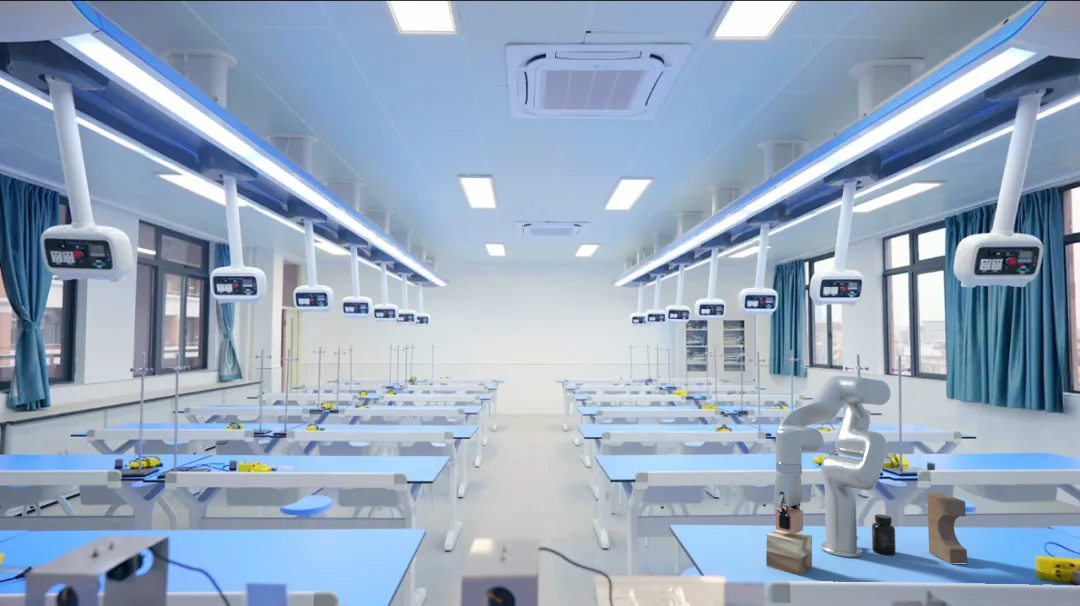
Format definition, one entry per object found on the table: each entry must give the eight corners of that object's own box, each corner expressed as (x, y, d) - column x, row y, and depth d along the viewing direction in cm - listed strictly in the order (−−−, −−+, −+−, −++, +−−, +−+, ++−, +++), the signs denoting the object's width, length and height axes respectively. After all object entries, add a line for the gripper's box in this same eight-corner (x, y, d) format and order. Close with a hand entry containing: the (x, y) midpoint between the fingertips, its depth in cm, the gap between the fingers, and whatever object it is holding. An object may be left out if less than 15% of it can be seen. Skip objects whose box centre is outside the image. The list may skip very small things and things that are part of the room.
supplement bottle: (870, 547, 206) (870, 512, 207) (893, 550, 204) (892, 514, 205) (874, 554, 200) (873, 517, 201) (897, 557, 197) (896, 520, 198)
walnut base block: (780, 559, 194) (780, 543, 194) (812, 568, 187) (811, 551, 187) (766, 567, 187) (766, 550, 188) (798, 576, 180) (798, 559, 180)
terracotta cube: (784, 525, 192) (784, 506, 192) (803, 530, 188) (802, 510, 188) (775, 529, 188) (775, 509, 188) (794, 533, 184) (794, 514, 184)
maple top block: (780, 543, 194) (780, 528, 195) (812, 551, 187) (811, 535, 188) (766, 550, 188) (766, 534, 188) (798, 559, 180) (798, 542, 181)
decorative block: (968, 565, 191) (966, 501, 193) (950, 564, 191) (948, 501, 193) (945, 552, 202) (943, 492, 204) (928, 552, 202) (926, 492, 204)
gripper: (789, 463, 198) (790, 518, 196) (764, 469, 186) (765, 529, 185) (812, 466, 192) (813, 523, 191) (788, 474, 180) (789, 535, 179)
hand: (789, 525), depth 188 cm, fingers closed on terracotta cube, 6 cm apart
